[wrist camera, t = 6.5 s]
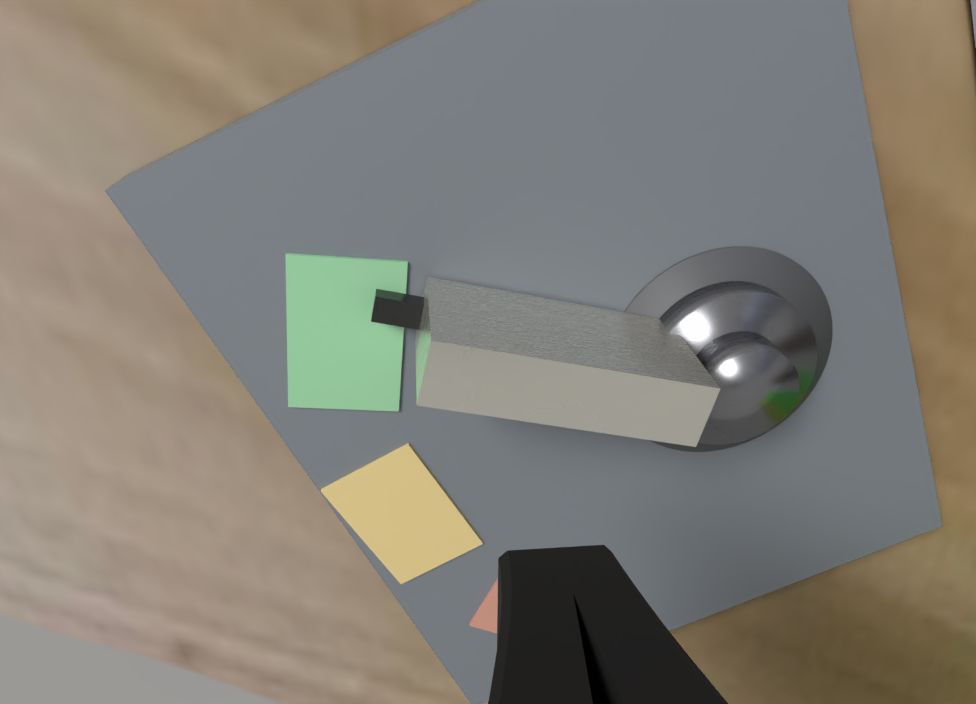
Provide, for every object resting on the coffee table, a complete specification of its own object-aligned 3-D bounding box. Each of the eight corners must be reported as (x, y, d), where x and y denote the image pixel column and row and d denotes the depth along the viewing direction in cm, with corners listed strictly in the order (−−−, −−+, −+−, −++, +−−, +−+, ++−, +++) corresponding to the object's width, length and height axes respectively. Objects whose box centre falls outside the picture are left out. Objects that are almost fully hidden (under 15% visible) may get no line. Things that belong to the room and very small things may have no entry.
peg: (828, 297, 18) (909, 360, 15) (763, 437, 19) (824, 517, 16) (389, 210, 16) (385, 263, 13) (360, 375, 17) (351, 453, 14)
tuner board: (786, -153, 14) (819, -164, 13) (917, 500, 22) (944, 528, 21) (125, 176, 16) (103, 191, 15) (470, 674, 24) (473, 709, 23)
